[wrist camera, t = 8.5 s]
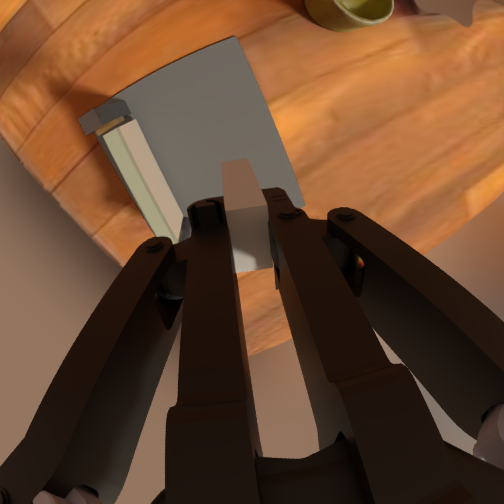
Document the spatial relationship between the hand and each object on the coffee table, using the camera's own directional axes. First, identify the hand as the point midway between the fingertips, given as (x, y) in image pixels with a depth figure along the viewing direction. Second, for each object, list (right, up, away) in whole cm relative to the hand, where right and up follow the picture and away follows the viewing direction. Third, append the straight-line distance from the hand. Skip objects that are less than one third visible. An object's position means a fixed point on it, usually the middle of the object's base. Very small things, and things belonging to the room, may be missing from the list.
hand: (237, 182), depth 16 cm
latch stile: (-16, +14, +15) cm, 26 cm away
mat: (-6, +9, +20) cm, 23 cm away
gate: (-12, +7, +20) cm, 24 cm away
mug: (+13, +30, +10) cm, 34 cm away
